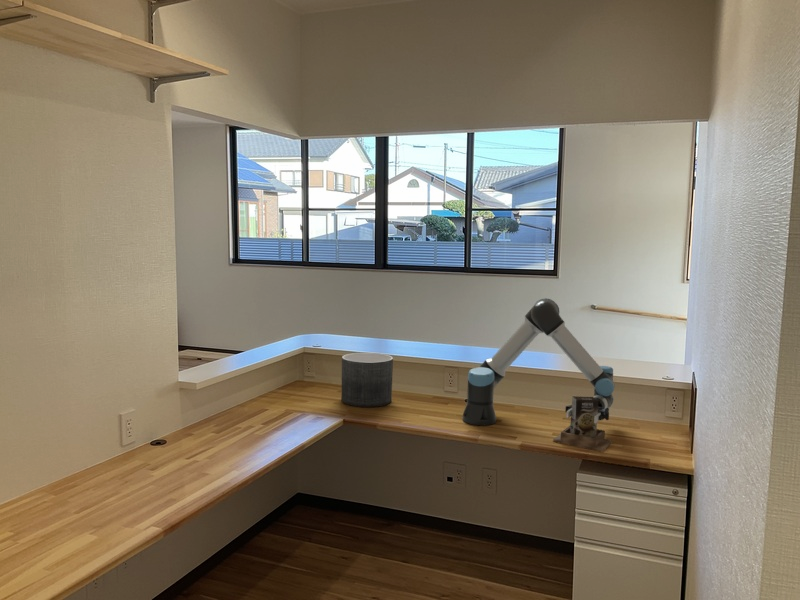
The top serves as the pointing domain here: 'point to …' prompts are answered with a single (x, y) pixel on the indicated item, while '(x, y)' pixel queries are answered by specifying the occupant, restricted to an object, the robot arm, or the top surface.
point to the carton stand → (584, 440)
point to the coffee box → (584, 416)
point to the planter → (367, 379)
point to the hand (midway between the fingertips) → (581, 417)
